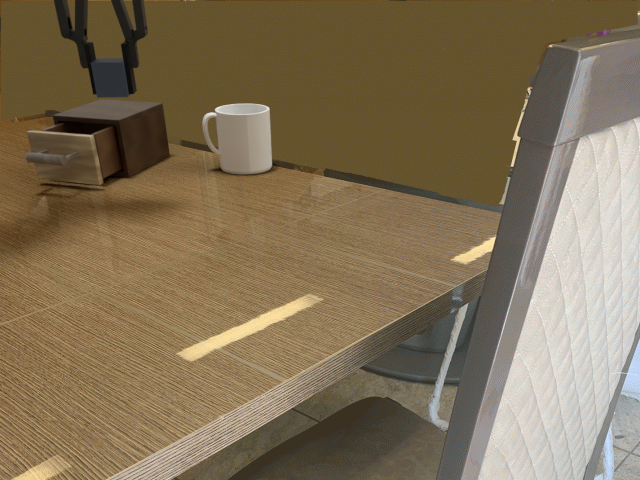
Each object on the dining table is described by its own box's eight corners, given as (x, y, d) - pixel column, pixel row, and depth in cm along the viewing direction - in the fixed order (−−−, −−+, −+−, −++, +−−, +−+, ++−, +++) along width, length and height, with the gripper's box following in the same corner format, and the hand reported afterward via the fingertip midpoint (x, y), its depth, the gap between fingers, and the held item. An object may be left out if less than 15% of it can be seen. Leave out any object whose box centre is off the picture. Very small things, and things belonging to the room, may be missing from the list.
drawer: (83, 193, 108) (72, 143, 103) (20, 187, 111) (6, 138, 106) (142, 163, 123) (135, 118, 118) (85, 158, 126) (76, 114, 121)
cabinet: (129, 177, 119) (118, 120, 113) (65, 171, 122) (52, 115, 116) (170, 155, 131) (162, 102, 125) (110, 150, 134) (101, 99, 128)
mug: (267, 158, 128) (264, 102, 122) (276, 172, 121) (274, 113, 115) (204, 163, 126) (198, 105, 120) (210, 177, 118) (203, 117, 112)
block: (97, 97, 96) (90, 62, 93) (103, 91, 100) (97, 57, 97) (128, 97, 96) (122, 62, 93) (133, 91, 100) (128, 57, 97)
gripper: (153, -104, 87) (176, 87, 101) (21, -105, 86) (62, 88, 100) (144, -108, 81) (170, 96, 95) (2, -109, 80) (49, 97, 94)
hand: (115, 92), depth 98 cm, fingers closed on block, 5 cm apart
